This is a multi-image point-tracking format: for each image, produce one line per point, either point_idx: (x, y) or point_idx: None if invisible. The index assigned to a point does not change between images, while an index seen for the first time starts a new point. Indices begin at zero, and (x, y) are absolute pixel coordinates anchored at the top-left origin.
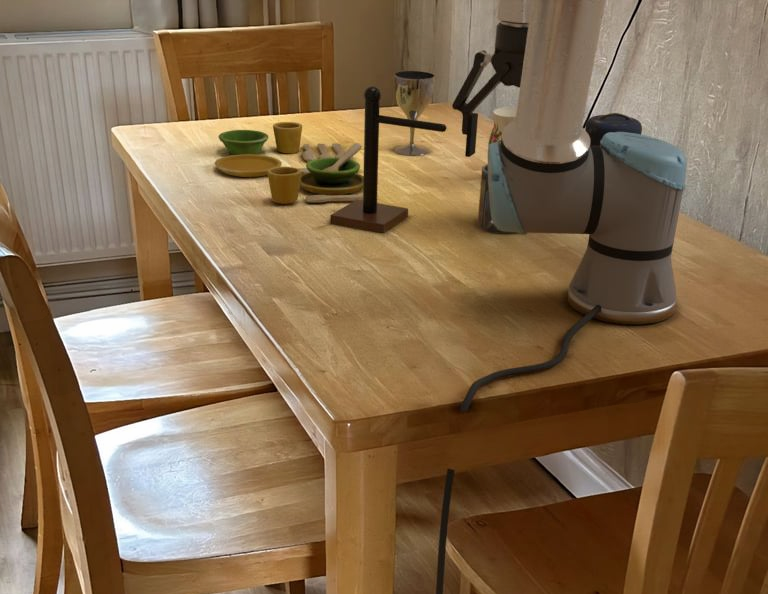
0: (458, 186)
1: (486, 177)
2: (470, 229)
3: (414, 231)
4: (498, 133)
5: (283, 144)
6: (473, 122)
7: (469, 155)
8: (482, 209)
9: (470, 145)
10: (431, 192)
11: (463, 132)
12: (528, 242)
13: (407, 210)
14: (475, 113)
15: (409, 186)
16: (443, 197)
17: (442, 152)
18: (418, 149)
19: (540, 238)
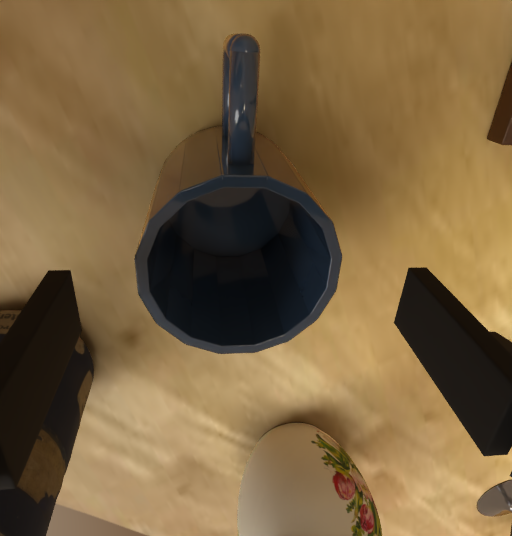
0: (395, 389)
1: (300, 185)
2: (300, 121)
3: (455, 14)
4: (361, 532)
5: None
6: (483, 381)
7: (411, 271)
8: (284, 157)
9: (430, 296)
10: None
11: (496, 337)
12: (104, 88)
13: (500, 138)
14: (498, 451)
15: None
16: None
17: (452, 514)
18: (497, 502)
19: (90, 143)
